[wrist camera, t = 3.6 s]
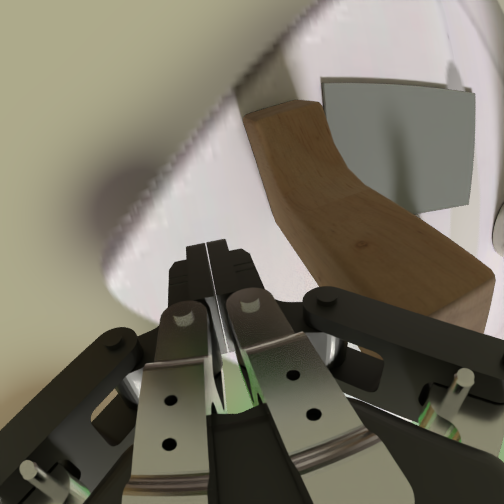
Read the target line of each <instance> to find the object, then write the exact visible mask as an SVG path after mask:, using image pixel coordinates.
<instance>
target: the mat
mask: <svg viewBox="0 0 504 504" xmlns="http://www.w3.org/2000/svg"><path fill="white" fill-rule="evenodd" d="M322 90H323V103H324V113H325V116H326V119H327V122H328V125H329V128H330V131H331V135H332V138H333V141H334V144H335V146H336V147H337V149H338V151H339V153H340V154H341V156H342V158H343V160H344V161H345V163H346V165H347V167H348V168H349V169H350V170H351V171H352V172H353V173H354V174H355V175H356V176H357V177H358V178H359V179H360V180H361V181H362V182H363V183H364V184H365V185H367V186H368V187H370V188H372V189H373V190H375V191H377V192H378V193H380V194H382V195H383V196H385V197H387V198H388V199H390V200H391V201H393V202H395V203H396V204H398V205H399V206H401V207H403V208H404V209H406V210H407V211H409V212H411V213H412V214H419V213H425V212H430V211H436V210H441V209H447V208H452V207H458V206H464V205H468V204H469V198H470V190H471V180H472V171H473V159H474V143H475V93H470V92H464V91H457V90H449V89H441V88H432V87H422V86H411V85H396V84H376V83H322Z"/></svg>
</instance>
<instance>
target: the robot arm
mask: <svg viewBox="0 0 504 504" xmlns="http://www.w3.org/2000/svg"><path fill="white" fill-rule="evenodd" d="M206 243H207V248H208V254H209V259H210V265H211V270H212V275H213V280H212V275H211V270H210V265H209V261H208V256H207V251H206V246H205V243H202V244H197V245H192V246H187V247H186V258H187V260H182V261H177V262H174V264H173V265H172V267H171V268H170V269H169V287H168V308H167V309H166V310H165V311H164V312H163V313H162V315H161V318H160V324H159V326H158V327H157V328H155V329H153V330H151V331H149V332H147V333H145V334H142V335H140V336H137V335H136V333H135V332H134V331H133V330H132V329H130V328H126V327H119V328H114V329H111V330H108V331H106V332H105V333H103V334H102V335H101V336H99V337H98V338H97V339H96V340H95V341H94V342H93V343H92V344H91V345H89V346H88V347H87V348H86V349H85V350H84V351H83V352H82V353H81V354H80V355H79V356H78V357H76V358H75V359H74V360H73V361H72V362H71V363H70V364H69V365H68V366H67V367H66V368H65V369H64V370H62V372H60V374H58V375H57V376H56V377H55V378H54V379H53V380H52V381H51V382H50V383H49V384H48V385H47V386H46V387H45V388H43V389H42V391H40V392H39V393H38V394H37V395H36V396H35V397H34V398H33V399H32V400H31V401H30V402H29V403H28V404H27V405H26V406H25V407H24V408H23V409H22V410H21V411H20V412H19V413H18V414H17V415H16V416H15V417H14V418H13V419H12V420H11V421H10V422H9V423H8V424H7V425H6V426H5V427H4V428H3V429H2V430H1V431H0V504H504V463H503V461H501V460H500V459H499V458H498V455H499V452H500V449H501V445H502V441H503V437H504V340H502V339H498V338H495V337H492V336H489V335H485V334H482V333H479V332H476V331H473V330H469V329H466V328H463V327H460V326H457V325H453V324H450V323H447V322H444V321H441V320H438V319H434V318H431V317H428V316H425V315H422V314H419V313H415V312H412V311H409V310H406V309H403V308H400V307H397V306H393V305H390V304H387V303H384V302H381V301H378V300H375V299H372V298H368V297H365V296H362V295H359V294H356V293H353V292H350V291H347V290H344V289H340V288H337V287H332V286H322V287H317V288H314V289H312V290H310V291H308V292H307V293H306V294H305V295H304V297H303V302H282V301H278V300H276V299H274V297H273V295H272V294H271V293H270V292H269V291H267V290H265V288H264V286H263V284H262V281H261V279H260V277H259V274H258V272H257V270H256V267H255V265H254V263H253V260H252V258H251V256H250V254H249V253H248V252H246V251H245V250H243V249H237V250H232V251H229V249H228V246H227V243H226V240H225V239H221V240H216V241H211V242H206ZM493 246H494V249H495V251H496V252H497V253H498V254H499V255H500V256H502V257H503V258H504V204H503V206H502V208H501V210H500V212H499V214H498V217H497V219H496V222H495V226H494V231H493ZM213 281H214V284H213ZM214 286H215V289H214ZM215 291H216V294H215ZM216 296H217V299H216ZM217 300H218V304H217ZM218 305H219V310H220V314H221V318H222V323H223V327H224V332H225V336H226V340H227V344H228V349H229V352H234V351H235V352H236V356H237V360H238V365H239V369H240V372H241V375H242V378H243V381H244V383H245V386H246V389H247V392H248V394H249V397H250V399H251V403H252V405H253V408H251V409H249V410H246V411H244V412H242V413H238V414H227V405H226V396H225V384H224V374H223V370H222V365H223V362H222V357H221V354H224V353H227V349H226V344H225V339H224V334H223V329H222V325H221V320H220V315H219V310H218ZM348 342H350V343H352V344H355V345H357V346H360V347H363V348H365V349H368V350H371V351H373V352H376V353H377V354H379V355H380V356H381V357H382V358H383V360H381V359H378V358H376V357H373V356H370V355H368V354H365V353H362V352H360V351H357V350H355V349H352V348H350V347H347V345H348ZM114 388H115V389H116V391H117V392H118V395H117V396H116V397H115V398H114V399H113V400H112V401H111V402H110V403H109V404H108V405H107V406H106V407H105V409H104V410H103V411H102V412H101V413H100V414H99V415H98V416H97V417H96V418H95V419H94V420H93V421H92V422H91V415H92V413H93V411H94V410H95V408H96V407H97V406H98V405H99V404H100V403H101V402H102V401H103V400H104V399H105V398H106V397H107V396H108V395H109V394H110V393H111V391H113V389H114ZM343 392H344V393H346V394H348V395H351V396H353V397H355V398H357V399H360V400H362V401H360V400H356V399H353V398H349V397H346V396H345V395H344V393H343ZM363 401H365V402H367V403H369V404H367V403H365V402H363ZM370 404H372V405H374V406H377V407H379V408H381V409H384V410H386V411H389V412H391V413H394V414H396V415H399V416H401V417H404V418H407V419H409V420H412V421H415V422H417V423H419V426H417V425H415V424H413V423H410V422H408V421H406V420H403V419H401V418H399V417H396V416H394V415H392V414H390V413H387V412H385V411H383V410H381V409H378V408H376V407H374V406H372V405H370Z"/></svg>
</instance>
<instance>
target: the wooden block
mask: <svg viewBox="0 0 504 504" xmlns="http://www.w3.org/2000/svg"><path fill="white" fill-rule="evenodd" d="M243 123H244V126H245V129H246V132H247V135H248V138H249V141H250V144H251V147H252V150H253V153H254V156H255V159H256V162H257V165H258V168H259V172H260V175H261V178H262V181H263V184H264V187H265V190H266V194H267V197H268V200H269V203H270V206H271V209H272V213H273V216H274V219H275V222H276V223H277V225H278V226H279V228H280V229H281V231H282V232H283V234H284V235H285V237H286V238H287V240H288V241H289V243H290V244H291V246H292V247H293V249H294V250H295V251H296V253H297V254H298V256H299V257H300V259H301V260H302V262H303V263H304V265H305V266H306V268H307V269H308V271H309V272H310V274H311V275H312V276H313V278H314V279H315V281H316V282H317V284H318V285H319V287H322V286H332V287H337V288H340V289H344V290H347V291H350V292H353V293H356V294H359V295H362V296H365V297H368V298H372V299H375V300H378V301H381V302H384V303H387V304H390V305H393V306H397V307H400V308H403V309H406V310H409V311H412V312H415V313H419V314H422V315H425V316H428V317H431V318H434V319H438V320H441V321H444V322H447V323H450V324H453V325H457V326H460V327H463V328H466V329H469V330H473V331H476V332H479V333H482V334H484V330H485V326H486V322H487V318H488V314H489V310H490V305H491V301H492V296H493V291H494V286H495V281H496V280H495V275H494V273H493V271H492V270H491V269H490V268H489V267H487V266H486V265H485V264H483V263H482V262H481V261H479V260H478V259H477V258H475V257H474V256H473V255H471V254H470V253H469V252H467V251H466V250H464V249H463V248H462V247H460V246H459V245H458V244H456V243H455V242H453V241H452V240H451V239H449V238H448V237H446V236H445V235H443V234H442V233H441V232H439V231H438V230H436V229H435V228H433V227H432V226H430V225H429V224H427V223H426V222H424V221H423V220H421V219H420V218H418V217H417V216H415V215H414V214H412V213H411V212H409V211H407V210H406V209H404V208H403V207H401V206H399V205H398V204H396V203H395V202H393V201H391V200H390V199H388V198H387V197H385V196H383V195H382V194H380V193H378V192H377V191H375V190H373V189H372V188H370V187H368V186H367V185H365V184H364V183H363V182H362V181H361V180H360V179H359V178H358V177H357V176H356V175H355V174H354V173H353V172H352V171H351V170H350V169H349V168H348V167H347V165H346V163H345V161H344V160H343V158H342V156H341V154H340V153H339V151H338V149H337V147H336V146H335V144H334V141H333V138H332V135H331V131H330V128H329V125H328V122H327V119H326V116H325V113H324V110H323V107H322V105H321V104H320V103H319V102H315V101H304V100H293V101H289V102H286V103H282V104H279V105H275V106H272V107H268V108H265V109H262V110H259V111H255V112H252V113H249V114H246V115H245V116H244V117H243ZM358 347H359V349H360V350H361V352H362V353H365V354H368V355H370V356H373V357H376V358H378V359H381V360H383V358H382V357H381V356H380V355H379V354H377V353H376V352H373V351H371V350H368V349H365V348H363V347H360V346H358Z"/></svg>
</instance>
